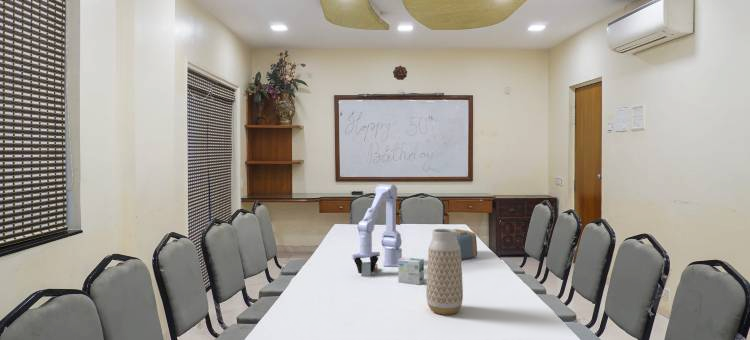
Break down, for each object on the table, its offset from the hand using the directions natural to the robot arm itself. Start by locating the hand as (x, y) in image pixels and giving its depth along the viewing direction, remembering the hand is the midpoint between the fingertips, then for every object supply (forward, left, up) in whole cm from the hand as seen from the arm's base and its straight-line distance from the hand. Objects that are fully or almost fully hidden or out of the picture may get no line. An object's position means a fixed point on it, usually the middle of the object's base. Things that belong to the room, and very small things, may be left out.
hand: (366, 272), depth 226 cm
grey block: (0, 0, -2) cm, 2 cm away
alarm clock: (-50, -41, -2) cm, 65 cm away
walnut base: (-1, -8, -2) cm, 8 cm away
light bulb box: (-22, +11, -2) cm, 25 cm away
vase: (-34, +49, -2) cm, 60 cm away
